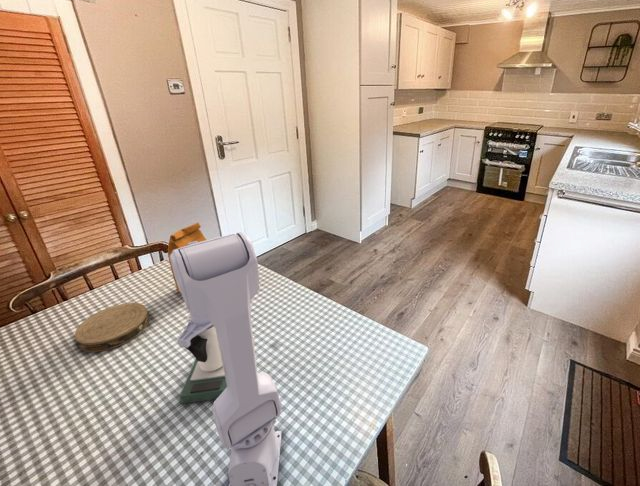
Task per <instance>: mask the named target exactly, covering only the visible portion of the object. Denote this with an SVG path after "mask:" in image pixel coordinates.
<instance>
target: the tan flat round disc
mask: <svg viewBox="0 0 640 486" xmlns="http://www.w3.org/2000/svg"><path fill="white" fill-rule="evenodd" d="M149 323H150V314H149V311H148V309H147V307H146V306H145V304H142V303H139V302H126V303H120V304H116V305H112V306H110V307H107V308H104V309H102V310H100V311H98V312H96V313H94V314H93V315H90V316H89V317H88V318H87V319H85V320H84V321H83V322H81V323H80V325H79V326H78V327H77V328H76V330H75V333H74V338H75V340H76V343H77V344H78V347H79V349H81V350H82V351H85V352H88V353H89V352H90V353H97V352H98V353H99V352H103V351H104V352H105V351H109V350H111V349H114V348H117V347H120V346H122V345H124V344H126V343H128V342H130V341H131V340H133V339H135V338H136V337H137V336H139V335H140V334H141V333H142V332H143V331H144V330H145V329H146V328H147V326H148V325H149Z"/></svg>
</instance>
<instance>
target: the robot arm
mask: <svg viewBox="0 0 640 486" xmlns="http://www.w3.org/2000/svg"><path fill="white" fill-rule="evenodd" d="M170 261H171V265H172V269H173V272H174V276H175V279H176V282H177V285H178V288H179V290H180V292H179V293H180V294H181V296H182V299H183V301H184V304H185V305H184V306H185V307H186V309H187V310H188V312H189V314H188V315H187V316H188V319H189V321H188V323H187V325H186V326H185V328H184V330H183V332H182V333H181V335H180V336H179V337H178V338H177V339H176V340H177V344H178V346H179V347H181V348H185V349H186V350H188V351H189V352H190V353H191V354H192V356H193V357H194V358H195V360H197V361H200V362H206V361H207V352H206V343H207V340H208V339H205V338H201V336H199V335H198V334H200V333H201V332H203V331H204V330H206V329H207V328H209V327H210V326H212V325H214V327H215V329H216V334H217V339H218V343H219V348H220V353H221V358H222V363H223V368H224V373H225V378H226V383H227V387H226V389H225V390H224V391H223V392H222V393H221V394H220V396H219V397H218V398H217V399H214V402H213V403H212V404H213V407H212V418H213V422H214V425H215V428H216V432H217V434H218V438H219V441H220V443H221V447H222V448H223V449H226V450H230V462H229V466H228V471H227V476H228V481H229V483H228V486H278V477H279V467H280V466H279V465H280V456H281V446H282V445H281V443H282V434H283V433H282V431H281V430H275V426H274V425H275V424H276V423H277V418H276V417H279V416H280V415H281V413H282V409H283V407H282V401H281V398H280V395H279V391H278V388H277V385H276V383H275V381H274V380H273V378H272V377H271V376H270V375H269V373H268V372H258V367H257V359H256V350H255V342H254V341H255V340H254V333H253V327H252V326H253V325H252V308H251V306H252V304H251V302H252V300H253V299H254V297H255V296H256V295H257V294H258V293H259V292H260V284H259V283H260V273H259V263H258V257H257V254H256V251H255V249H254V246H253V243H252V241H251V239H250V237H249V236H248V235H247V234H245V233H244V232H242V231H238V232H236V234H235V233H231V234H227V235H222V236H221V235H220V236H217V237H213V238H209V239H207V240H205V241H201V242H197V241H194V242H190V243H188V244H187V246H184V247H181V248H178V249H175V250H173V251H172V253H171V255H170Z"/></svg>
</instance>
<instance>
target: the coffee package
mask: <svg viewBox="0 0 640 486" xmlns="http://www.w3.org/2000/svg"><path fill="white" fill-rule="evenodd" d="M200 228H202V226H201V224H200V222H196V223H193V224H191V225H189V226H187V227H184V228H181V229H179V230H178V231H175V232H174V233H172V234H171V235H170V236H169V239H168V240H169V241H168V245H167V259H168V262H169V265H170V266H169V267H170V270H171V275H172V277H173V281H174V284H175V288H176V290H177V292H179V293H181V292H180V290H179V288H178V285H177V282H176V279H175V276H174V272H173V269H172V265H171V261H170V255H171V253H172V251H173V250H175V249H178V248H181V247H184V246H187V244H188V243H190V242H194V241H197V242H201V241H205V240H208V239H207V237H205V236H204V234H203V232H202V231H201V230H200Z"/></svg>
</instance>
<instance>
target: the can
mask: <svg viewBox="0 0 640 486" xmlns="http://www.w3.org/2000/svg"><path fill="white" fill-rule="evenodd" d="M198 335H199V336H201V338H205V339H208V340H207V343H206V352H207V361H206V362H200V361H198V362H199V366H200V368H201V369H202V370H203V371H207V372H211V371H215V370H218V369H219V368H221V367H222V366H223V363H222V358H221V353H220V348H219V343H218V339H217V334H216V329H215V327H214V325H212V326H210V327H209V328H207V329H206V330H204V331H203V332H201V333H200V334H198Z"/></svg>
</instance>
